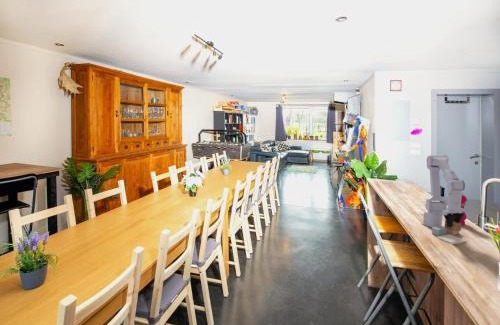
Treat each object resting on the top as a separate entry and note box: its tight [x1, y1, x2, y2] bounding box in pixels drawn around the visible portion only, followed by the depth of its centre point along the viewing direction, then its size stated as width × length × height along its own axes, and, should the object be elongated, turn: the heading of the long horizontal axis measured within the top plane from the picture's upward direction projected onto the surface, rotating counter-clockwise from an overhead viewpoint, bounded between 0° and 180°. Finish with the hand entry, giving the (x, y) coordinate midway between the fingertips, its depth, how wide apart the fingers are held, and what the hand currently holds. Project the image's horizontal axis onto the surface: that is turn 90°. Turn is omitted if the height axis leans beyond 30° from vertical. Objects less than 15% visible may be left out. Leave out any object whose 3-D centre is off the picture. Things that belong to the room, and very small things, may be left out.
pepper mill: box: [459, 192, 468, 226], centre depth 178 cm, size 7×7×20 cm
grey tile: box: [437, 234, 466, 245], centre depth 156 cm, size 9×9×1 cm
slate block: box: [431, 226, 447, 237], centre depth 164 cm, size 6×4×4 cm, turn 106°
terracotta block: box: [446, 229, 460, 236], centre depth 165 cm, size 6×4×4 cm, turn 113°
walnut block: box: [444, 220, 462, 232], centre depth 155 cm, size 6×4×4 cm, turn 19°
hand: (452, 226), depth 155 cm, fingers closed on walnut block, 4 cm apart
